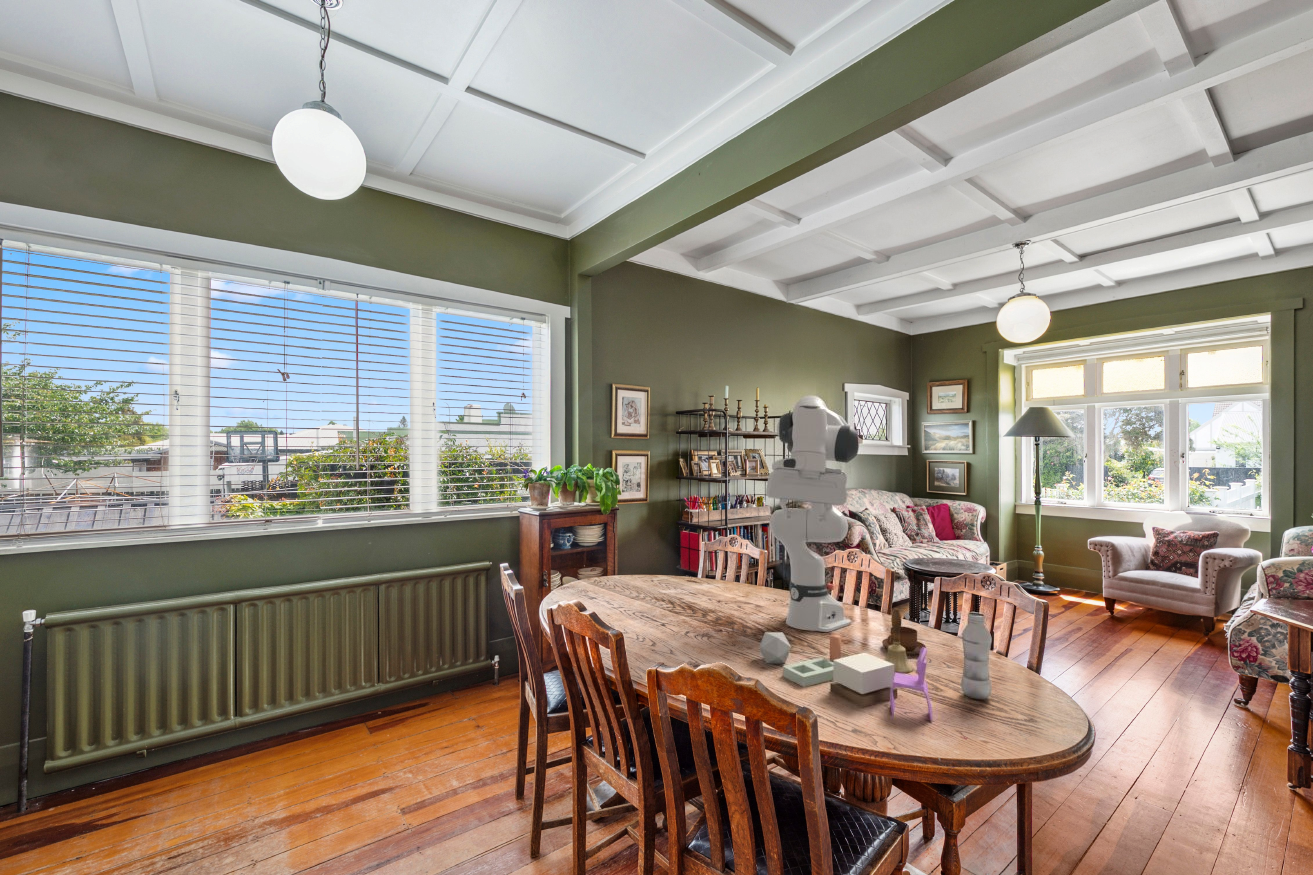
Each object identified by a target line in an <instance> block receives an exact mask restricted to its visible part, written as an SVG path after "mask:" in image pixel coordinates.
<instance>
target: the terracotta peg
mask: <svg viewBox="0 0 1313 875" xmlns="http://www.w3.org/2000/svg"><path fill="white" fill-rule="evenodd" d="M840 658H842V636H841V635H839V634H830V635H829V661H831V662H833V660H836V659H840Z"/></svg>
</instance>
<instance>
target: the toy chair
mask: <svg viewBox="0 0 1313 875" xmlns="http://www.w3.org/2000/svg"><path fill="white" fill-rule="evenodd" d="M927 651H928V648H927V647H926V648H925V647H922V648H921V650H920V654H918V655H919V656H918V658H917V661H916V663H915V664H916V665H915V666H916V670H915V674H917V675H911V674H906V673H898V672H894V678H893V680H892V685H891V691H890V699H889V701H890V702H889V703H890V711H891V714H892V715H893V716H894V714H895V711H896V710H895V709H896V701H895V698H894V697H893V688H901V689H911V690H915V691H919V692H922V693H923V694H924V695H925V699H926V704H927V709H928V714H929V719H930V722H931V723H933V716H934V714H933V712H934V711H933V708H932V703H931V700H930V694H929V688H928V687H929V686H928V683H927V682H926V679H925V678H926V669H927V663H928V661H927V659H925V658H926V655H927Z"/></svg>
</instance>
